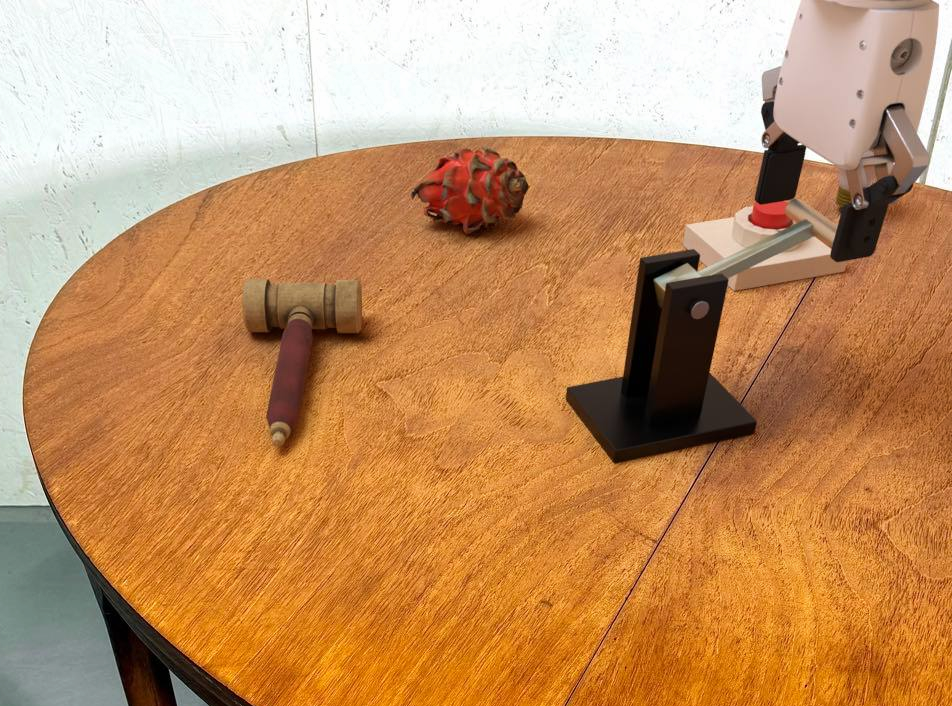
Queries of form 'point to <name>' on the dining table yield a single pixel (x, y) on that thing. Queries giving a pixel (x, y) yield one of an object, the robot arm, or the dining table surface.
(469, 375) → the dining table surface
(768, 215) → the button
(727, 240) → the button box
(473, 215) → the dragon fruit
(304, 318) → the gavel
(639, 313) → the bracket
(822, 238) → the lever
